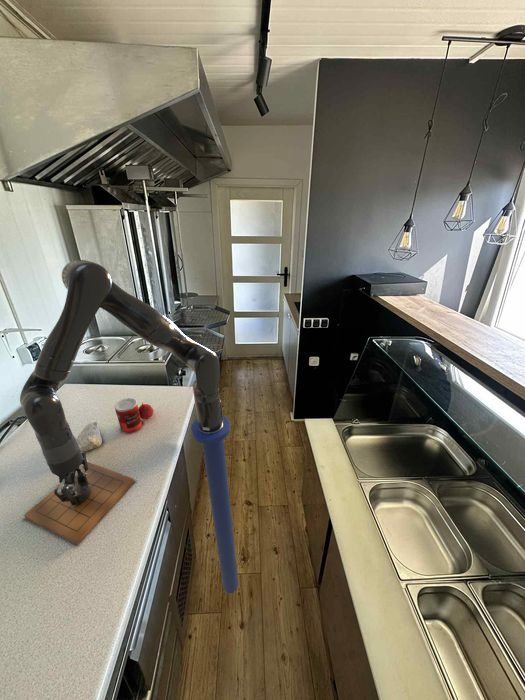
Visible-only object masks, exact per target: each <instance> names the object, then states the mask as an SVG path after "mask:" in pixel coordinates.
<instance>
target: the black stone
mask: <svg viewBox="0 0 525 700" xmlns="http://www.w3.org/2000/svg"><path fill="white" fill-rule="evenodd" d="M70 492H73V490H70ZM77 493H78V494H79V497H80V499H81V503H82V502H84V501H85V500H87V499H88V498H89V496H90V494H91V490H90V488H89V485H88V483H87V482H79V483H78V487H77Z"/></svg>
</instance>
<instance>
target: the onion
mask: <svg viewBox="0 0 525 700" xmlns="http://www.w3.org/2000/svg"><path fill="white" fill-rule="evenodd" d="M138 408H139V412H140V416H141V420H148V419H151V417H152V416H153V415H154V408H153V406H152V405H150V404H149V403H145V402H142V403H141V405H140V406H138Z"/></svg>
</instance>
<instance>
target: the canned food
mask: <svg viewBox="0 0 525 700" xmlns="http://www.w3.org/2000/svg"><path fill="white" fill-rule="evenodd" d="M114 411H115V414H116V417H117V421H118V424H119V427H120V430H121V431H122V432H123V433H127V434H129V433H134V432H136V431H138V430H140V429H141V427H142V425H143V421H142V420H143V419H142V418H141V416H140V412H139V405H138V401H137V399H135V398H130V397H129V398H122V399H121V400H118V401H117V402H115V404H114Z"/></svg>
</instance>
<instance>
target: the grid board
mask: <svg viewBox="0 0 525 700" xmlns="http://www.w3.org/2000/svg"><path fill="white" fill-rule="evenodd" d="M87 464H88V471H86V473H87V476H86V478H87V481H88V484H89V488H90V490H91V494H90V496H89V498H88V499H87V500H85V501H84V502H82V503H80V504H79V505H72V504H71V502H70V501H67V502H62V501H61V500H60V499H59V498H58V497H57V496H56V495H55V494H54V491H55V489H59V486H60V484H59V485H57V486H56V487H55V488H54V489H52V490H51V491H50V492H49V493H48V494H46V495H45V496H44V497H43V498H42V499H40V501H38V502H37V503H36V504H35V505H34V506H32V507H31V508H30V509H29V510H28V511H27V512H26V513H25V514H23V517H24V518H25V520H28V521H29V522H31V523H33V524H35V525H37V526H39V527H41V528H43V529H46V530H47V531H49V532H51V533H53V534H55V535H57V536H59V537H61V538H63V539H65V540H67V541H69V542H71V543H73V544H75V545H76V546H77V545H79V544H80V543H81V541H83V539H85V537H86V536H87V535H88V534H89V533H90V532H91V531H92V530H93V529H94V527H95V526H96V525H97V524H98V523H99V522H100V521H101V520H102V519H103V517H104V516H105V515H106V514H107V513H108V512H109V511H110V510H111V509H112V507H114V505H116V503H117V502H118V501H119V500H120V499H121V498H122V497H123V496H124V495H125V494H126V492H127V491H128V490H129V489H130V488H131V487H132V486H133V485H134V484H135V479H134V478H132V477H130V476H127V475H124V474H122V473H119V472H116V471H113V470H111V469H108V468H105V467H103V466H100V465H97V464H94V463H93V462H89V461H87ZM82 467H84V465H82ZM77 479H78V478H77ZM69 485H74V483H73V484H69Z"/></svg>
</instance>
